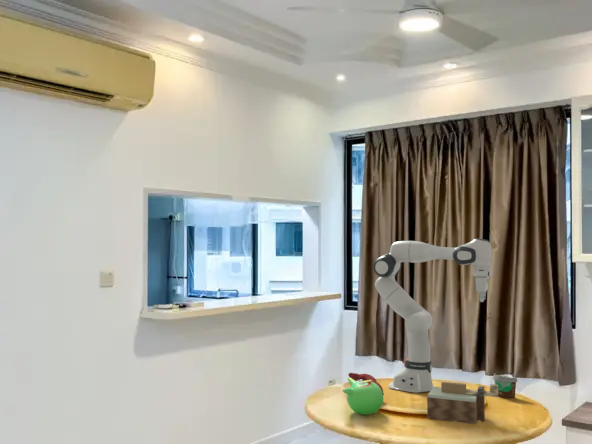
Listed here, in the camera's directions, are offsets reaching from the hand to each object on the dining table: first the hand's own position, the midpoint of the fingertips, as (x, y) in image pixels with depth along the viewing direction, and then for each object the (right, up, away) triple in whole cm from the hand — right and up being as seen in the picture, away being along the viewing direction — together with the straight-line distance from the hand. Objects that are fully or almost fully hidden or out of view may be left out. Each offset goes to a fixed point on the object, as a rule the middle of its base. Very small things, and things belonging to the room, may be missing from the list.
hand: (482, 300), depth 290 cm
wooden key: (-12, -35, -38) cm, 52 cm away
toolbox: (-22, -45, -34) cm, 60 cm away
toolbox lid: (-23, -37, -33) cm, 55 cm away
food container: (+9, -46, -1) cm, 47 cm away
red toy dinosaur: (-55, -46, +2) cm, 72 cm away
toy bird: (-61, -46, -28) cm, 81 cm away
